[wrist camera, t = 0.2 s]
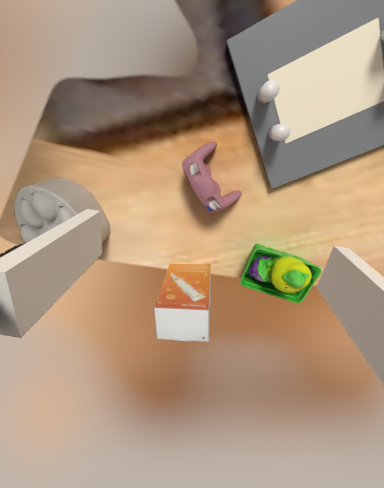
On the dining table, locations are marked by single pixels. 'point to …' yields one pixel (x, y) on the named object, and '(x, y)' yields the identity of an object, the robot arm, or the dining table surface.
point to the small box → (184, 303)
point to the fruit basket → (279, 274)
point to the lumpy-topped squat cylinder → (53, 206)
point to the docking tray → (313, 84)
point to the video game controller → (206, 181)
